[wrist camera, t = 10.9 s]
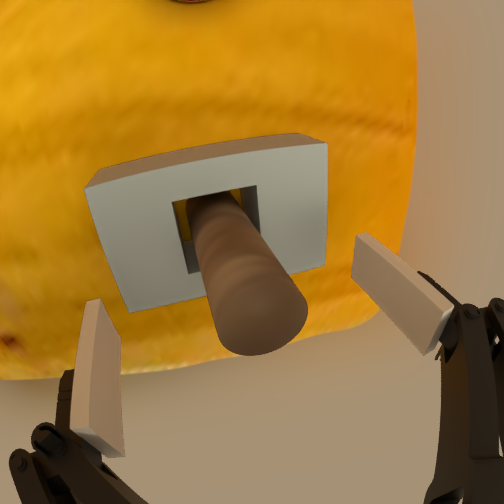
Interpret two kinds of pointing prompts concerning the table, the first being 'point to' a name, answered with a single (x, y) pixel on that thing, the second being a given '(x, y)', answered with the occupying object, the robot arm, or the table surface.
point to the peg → (243, 278)
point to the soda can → (191, 0)
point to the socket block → (201, 183)
